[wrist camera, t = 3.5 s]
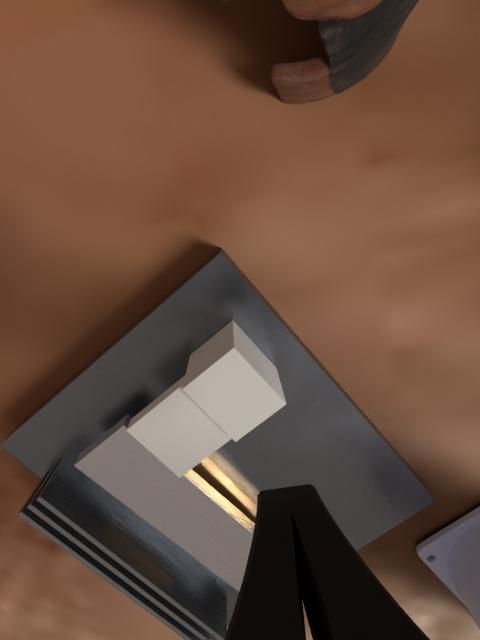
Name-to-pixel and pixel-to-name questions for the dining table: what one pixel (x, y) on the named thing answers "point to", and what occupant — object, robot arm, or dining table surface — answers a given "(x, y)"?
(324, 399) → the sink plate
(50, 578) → the dining table surface
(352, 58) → the pottery mug
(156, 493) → the strap
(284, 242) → the dining table surface
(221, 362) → the block
